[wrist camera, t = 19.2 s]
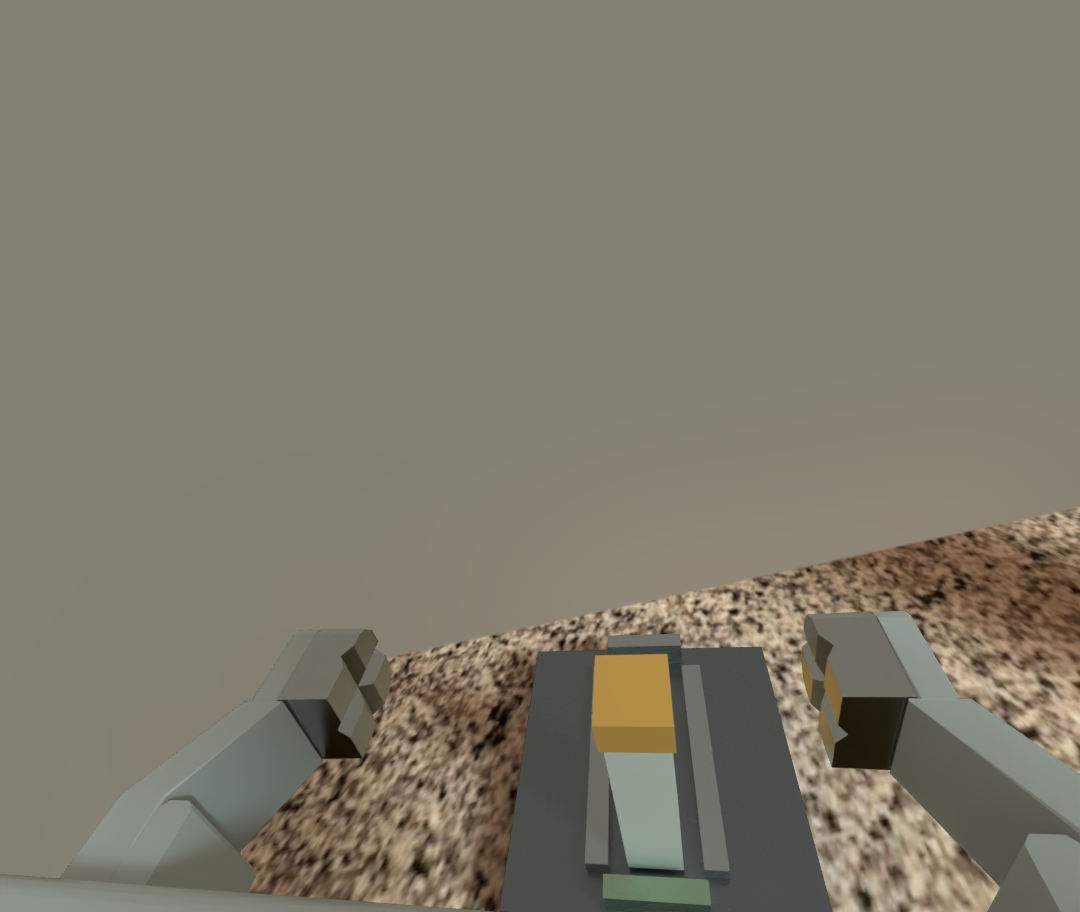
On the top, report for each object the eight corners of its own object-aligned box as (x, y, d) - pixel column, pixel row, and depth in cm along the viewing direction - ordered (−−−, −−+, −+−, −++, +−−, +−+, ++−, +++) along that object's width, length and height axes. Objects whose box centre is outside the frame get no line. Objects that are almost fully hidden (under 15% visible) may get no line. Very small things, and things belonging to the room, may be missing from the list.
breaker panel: (760, 674, 40) (762, 629, 37) (833, 961, 26) (842, 919, 24) (545, 677, 43) (533, 635, 40) (511, 935, 29) (491, 895, 27)
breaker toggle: (682, 803, 30) (667, 653, 24) (688, 875, 27) (674, 727, 21) (624, 801, 31) (595, 655, 25) (624, 871, 28) (591, 726, 22)
